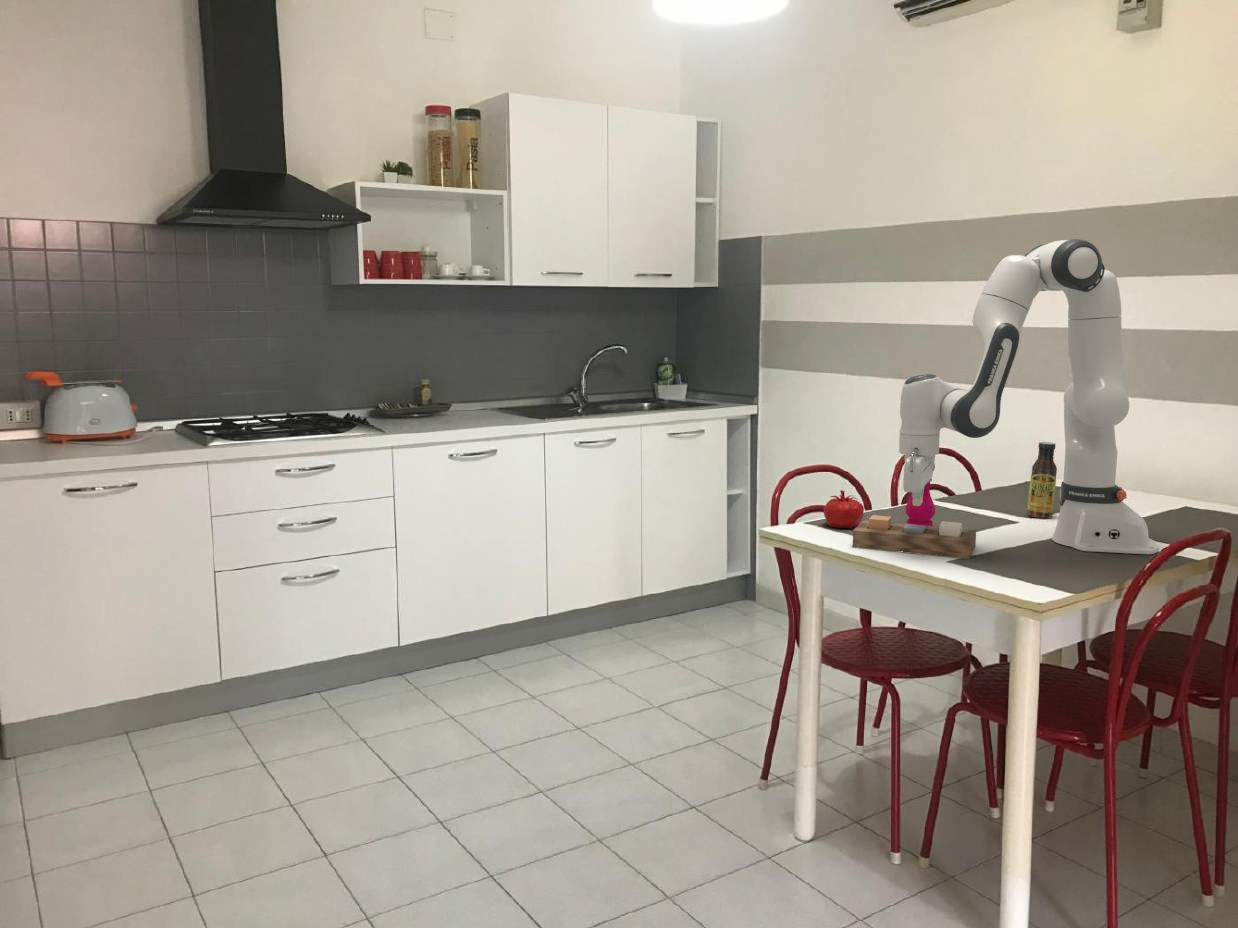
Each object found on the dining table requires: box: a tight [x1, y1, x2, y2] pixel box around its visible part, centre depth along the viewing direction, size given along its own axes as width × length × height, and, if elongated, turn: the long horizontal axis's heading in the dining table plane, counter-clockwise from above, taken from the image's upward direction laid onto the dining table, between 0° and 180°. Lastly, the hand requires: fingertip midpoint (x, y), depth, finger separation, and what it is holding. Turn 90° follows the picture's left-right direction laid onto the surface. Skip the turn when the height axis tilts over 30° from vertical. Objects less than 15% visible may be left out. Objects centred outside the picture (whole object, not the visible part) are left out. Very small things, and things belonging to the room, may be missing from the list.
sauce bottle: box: [1026, 441, 1058, 519], centre depth 264 cm, size 6×6×20 cm
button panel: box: [852, 519, 977, 560], centre depth 234 cm, size 26×12×4 cm, turn 65°
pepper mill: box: [905, 462, 936, 526], centre depth 252 cm, size 7×7×20 cm
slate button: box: [903, 523, 926, 534], centre depth 234 cm, size 4×4×4 cm
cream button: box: [939, 520, 963, 537], centre depth 230 cm, size 4×4×4 cm
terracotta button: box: [868, 514, 892, 530], centre depth 237 cm, size 4×4×4 cm
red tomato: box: [823, 490, 865, 529], centre depth 255 cm, size 10×10×9 cm
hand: (917, 504), depth 232 cm, fingers closed
